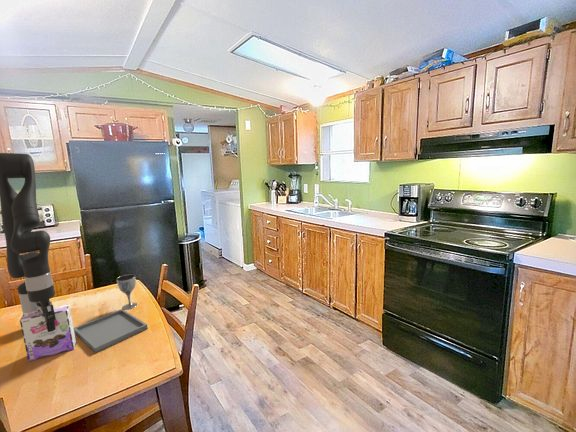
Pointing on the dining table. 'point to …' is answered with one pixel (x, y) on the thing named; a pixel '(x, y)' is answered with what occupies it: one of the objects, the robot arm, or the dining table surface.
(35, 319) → the candy box
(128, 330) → the tray
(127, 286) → the wine glass
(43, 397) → the dining table surface
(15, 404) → the dining table surface
